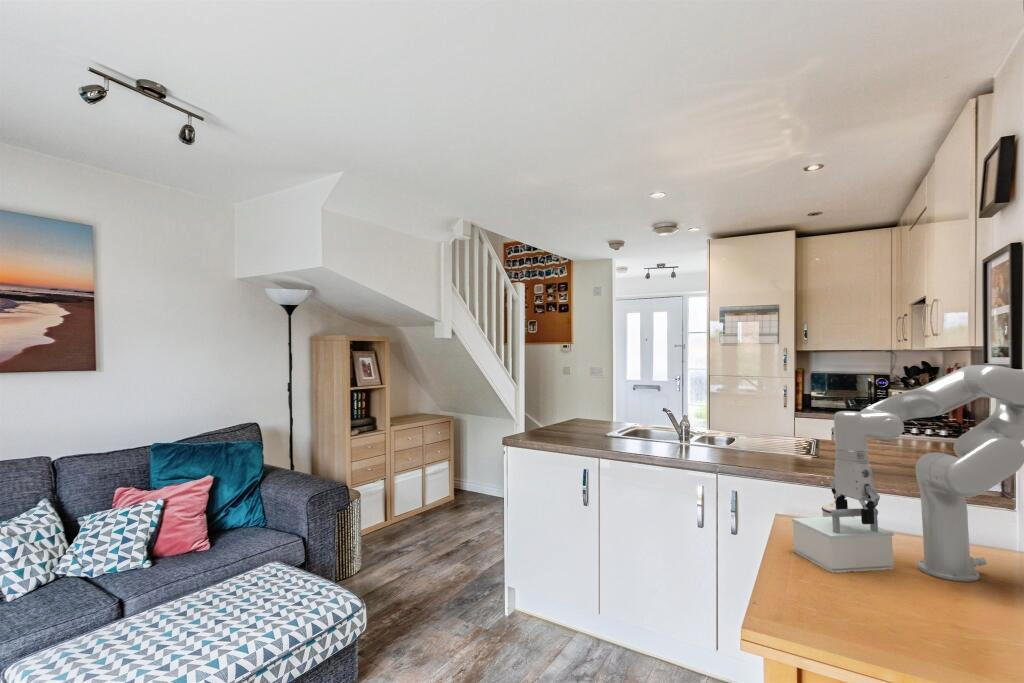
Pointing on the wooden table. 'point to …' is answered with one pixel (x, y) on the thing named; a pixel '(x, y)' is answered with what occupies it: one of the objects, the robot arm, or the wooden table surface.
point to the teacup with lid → (830, 507)
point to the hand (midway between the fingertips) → (854, 518)
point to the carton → (843, 551)
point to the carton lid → (843, 525)
